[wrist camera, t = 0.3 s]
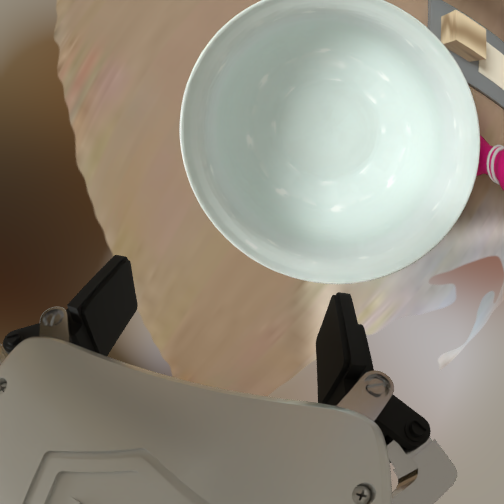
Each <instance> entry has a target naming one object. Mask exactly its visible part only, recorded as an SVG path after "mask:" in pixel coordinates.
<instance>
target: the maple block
mask: <svg viewBox="0 0 504 504" xmlns="http://www.w3.org/2000/svg"><path fill="white" fill-rule="evenodd" d="M441 42H442V43H443V44H444V46H445V47H446V48H447V49H449V50H450V51H452V52H454V53H456V54H457V55H459V56H461V57H462V58H464V59H465V60H467V61H469V62H471V61H478V60H486V29H485V28H483V27H482V26H480V25H479V24H478V23H476V22H475V21H473V20H472V19H470V18H469V17H467V16H466V15H464V14H462V13H461V12H459V11H458V10H454V11H452V12H450V13H448V14H446V15H444V16H442V17H441Z"/></svg>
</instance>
